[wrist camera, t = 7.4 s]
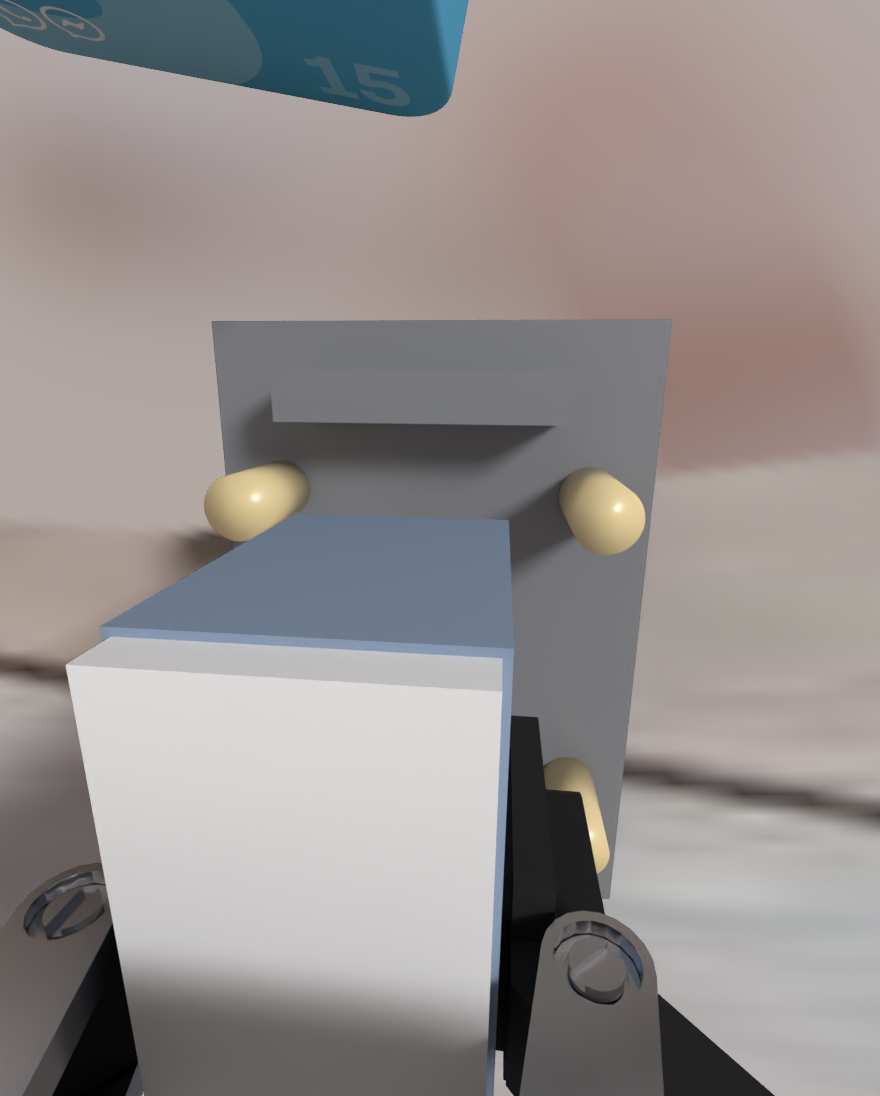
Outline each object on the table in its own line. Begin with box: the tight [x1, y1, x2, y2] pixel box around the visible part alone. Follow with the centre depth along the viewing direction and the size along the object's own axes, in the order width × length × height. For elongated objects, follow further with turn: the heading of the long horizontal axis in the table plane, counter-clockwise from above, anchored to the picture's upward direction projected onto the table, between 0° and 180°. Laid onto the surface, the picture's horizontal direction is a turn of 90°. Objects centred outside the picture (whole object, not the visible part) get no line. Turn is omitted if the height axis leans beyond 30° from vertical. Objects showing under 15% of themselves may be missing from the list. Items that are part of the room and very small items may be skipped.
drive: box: [66, 513, 514, 1096], centre depth 9 cm, size 4×10×6 cm, turn 179°
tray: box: [204, 319, 672, 899], centre depth 16 cm, size 12×18×4 cm, turn 179°
